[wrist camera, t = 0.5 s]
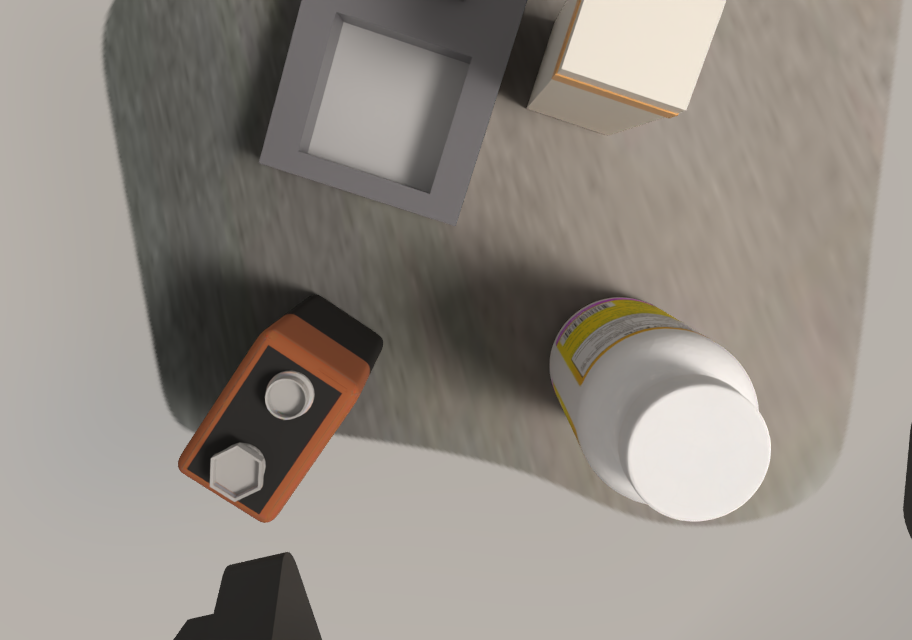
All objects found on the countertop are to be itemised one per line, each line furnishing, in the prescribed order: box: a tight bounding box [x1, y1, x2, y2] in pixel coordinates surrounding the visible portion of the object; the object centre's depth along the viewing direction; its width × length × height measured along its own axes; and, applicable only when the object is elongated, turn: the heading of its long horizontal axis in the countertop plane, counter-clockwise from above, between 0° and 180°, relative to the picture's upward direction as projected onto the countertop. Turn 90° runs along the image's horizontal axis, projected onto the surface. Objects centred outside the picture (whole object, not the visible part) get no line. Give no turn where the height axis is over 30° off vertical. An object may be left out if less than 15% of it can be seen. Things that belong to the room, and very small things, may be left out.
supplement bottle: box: [550, 297, 771, 521], centre depth 30 cm, size 7×7×13 cm
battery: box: [178, 295, 383, 523], centre depth 31 cm, size 4×7×10 cm, turn 145°
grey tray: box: [259, 0, 527, 226], centre depth 31 cm, size 16×9×3 cm, turn 162°
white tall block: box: [527, 0, 726, 136], centre depth 28 cm, size 4×4×12 cm
